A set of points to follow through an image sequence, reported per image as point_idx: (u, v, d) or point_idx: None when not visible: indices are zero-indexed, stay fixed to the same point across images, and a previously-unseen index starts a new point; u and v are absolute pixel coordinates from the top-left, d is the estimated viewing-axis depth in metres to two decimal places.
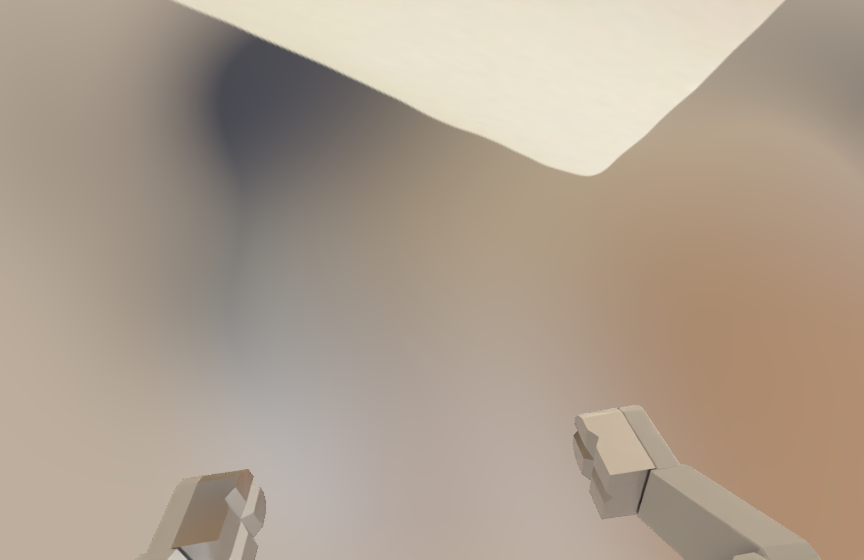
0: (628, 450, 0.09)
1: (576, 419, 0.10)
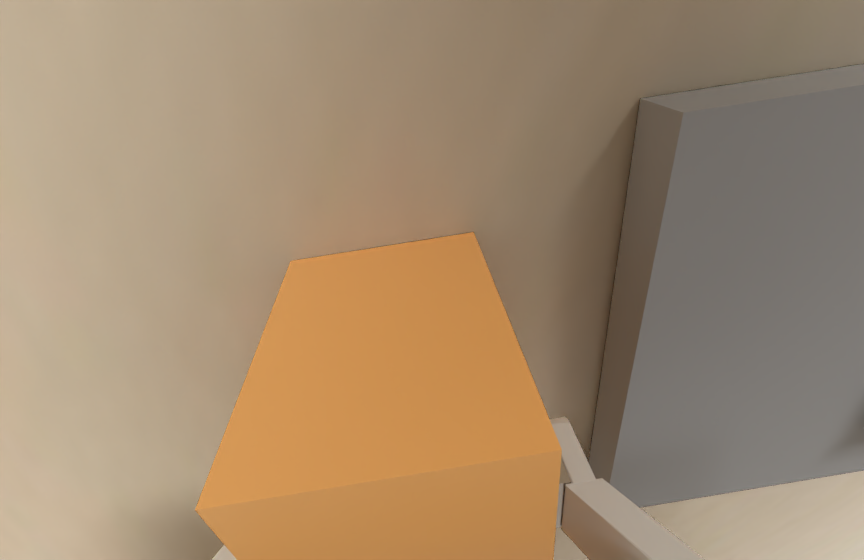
0: None
1: None
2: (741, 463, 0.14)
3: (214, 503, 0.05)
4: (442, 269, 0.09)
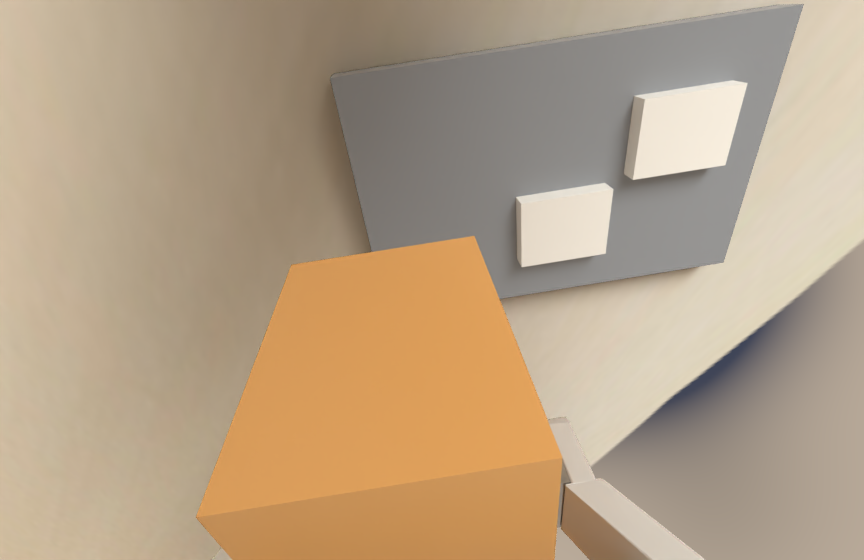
0: None
1: None
2: None
3: (215, 510, 0.05)
4: (443, 273, 0.09)
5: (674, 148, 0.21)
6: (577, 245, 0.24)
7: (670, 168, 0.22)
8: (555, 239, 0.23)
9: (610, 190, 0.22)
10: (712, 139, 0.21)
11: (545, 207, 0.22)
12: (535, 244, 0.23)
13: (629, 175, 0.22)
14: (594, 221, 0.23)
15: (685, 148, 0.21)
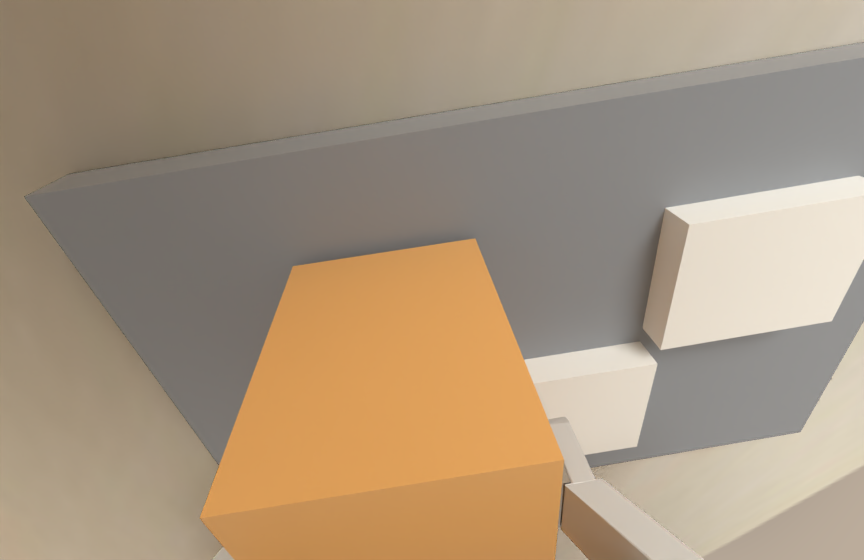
0: None
1: None
2: None
3: (218, 511, 0.05)
4: (444, 276, 0.09)
5: (741, 300, 0.11)
6: (590, 439, 0.14)
7: (731, 330, 0.12)
8: None
9: (652, 365, 0.12)
10: (814, 284, 0.11)
11: None
12: None
13: (653, 338, 0.12)
14: (620, 408, 0.13)
15: (761, 300, 0.11)
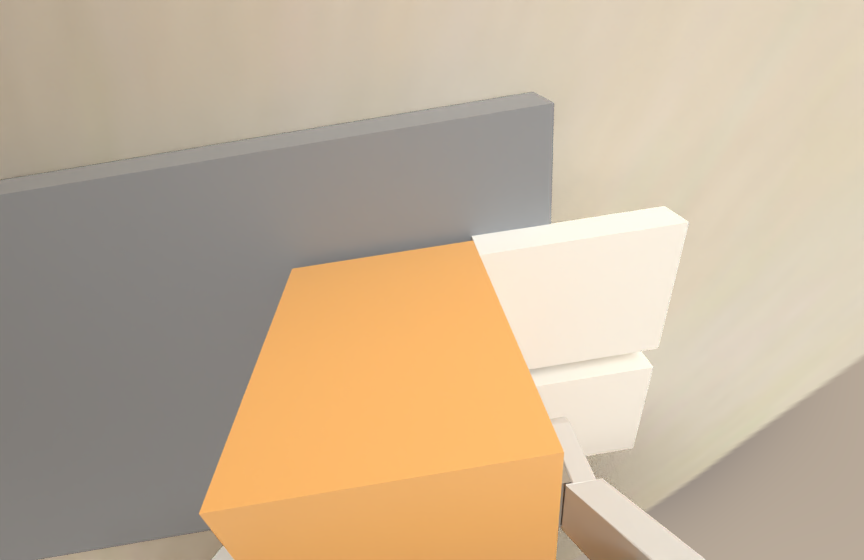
0: None
1: None
2: (87, 522, 0.15)
3: (218, 506, 0.05)
4: (443, 276, 0.09)
5: (557, 328, 0.11)
6: (587, 441, 0.14)
7: (555, 357, 0.12)
8: None
9: (648, 368, 0.12)
10: (629, 312, 0.11)
11: None
12: None
13: None
14: (617, 410, 0.13)
15: (578, 327, 0.11)
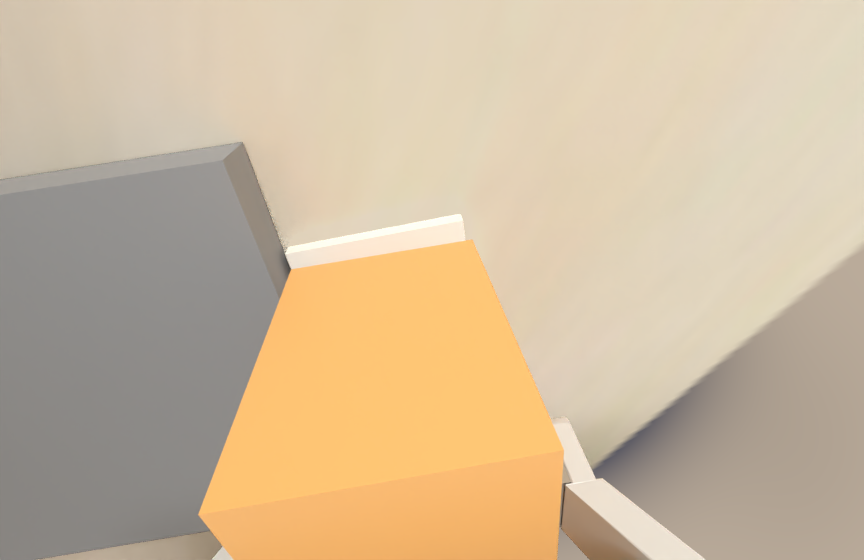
0: None
1: None
2: None
3: (217, 507, 0.05)
4: (442, 275, 0.09)
5: None
6: None
7: None
8: None
9: None
10: None
11: None
12: None
13: None
14: None
15: None
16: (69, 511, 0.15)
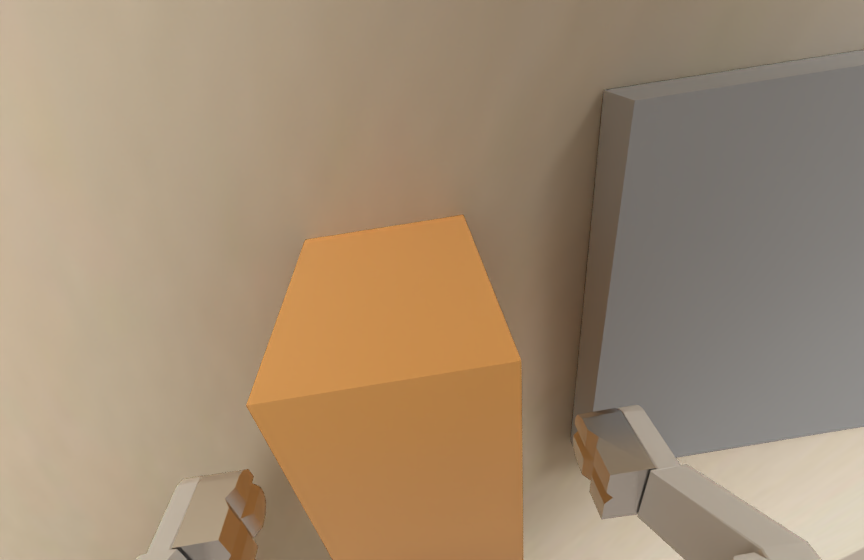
0: (628, 450, 0.09)
1: (576, 419, 0.10)
2: (708, 424, 0.16)
3: (260, 401, 0.07)
4: (435, 241, 0.10)
5: None
6: None
7: None
8: None
9: None
10: None
11: None
12: None
13: None
14: None
15: None
16: None
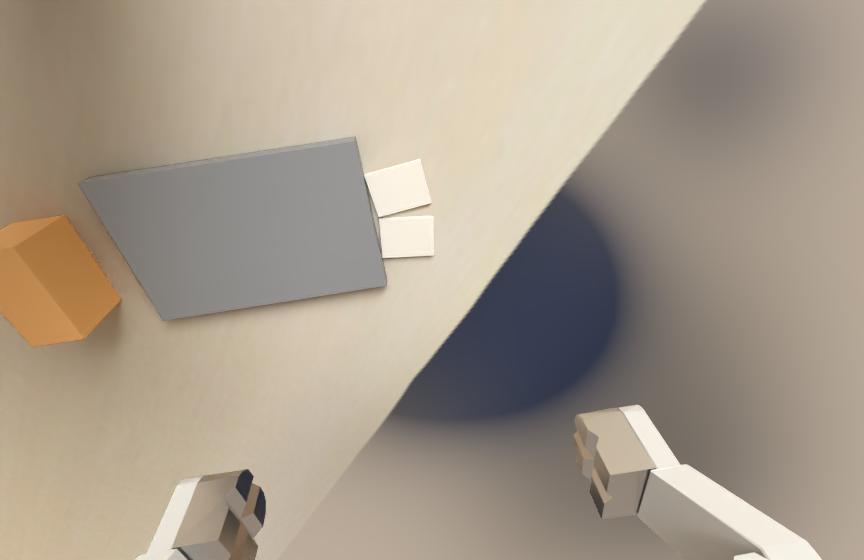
0: (628, 450, 0.09)
1: (576, 419, 0.10)
2: (202, 297, 0.39)
3: None
4: (42, 223, 0.34)
5: (395, 198, 0.37)
6: (416, 248, 0.40)
7: (398, 208, 0.37)
8: (401, 243, 0.39)
9: (431, 218, 0.38)
10: (415, 190, 0.37)
11: (394, 223, 0.38)
12: (390, 245, 0.39)
13: (378, 214, 0.38)
14: (424, 235, 0.39)
15: (401, 197, 0.37)
16: (274, 278, 0.39)
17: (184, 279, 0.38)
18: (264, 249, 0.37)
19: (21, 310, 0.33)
